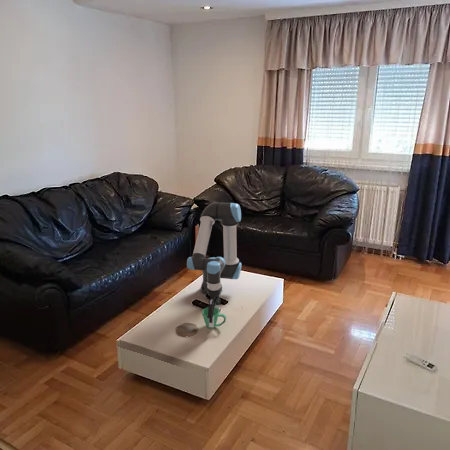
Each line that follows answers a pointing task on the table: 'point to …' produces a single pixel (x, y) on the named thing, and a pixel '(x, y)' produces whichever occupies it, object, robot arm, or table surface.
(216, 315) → the mug
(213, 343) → the table surface
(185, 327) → the plate
